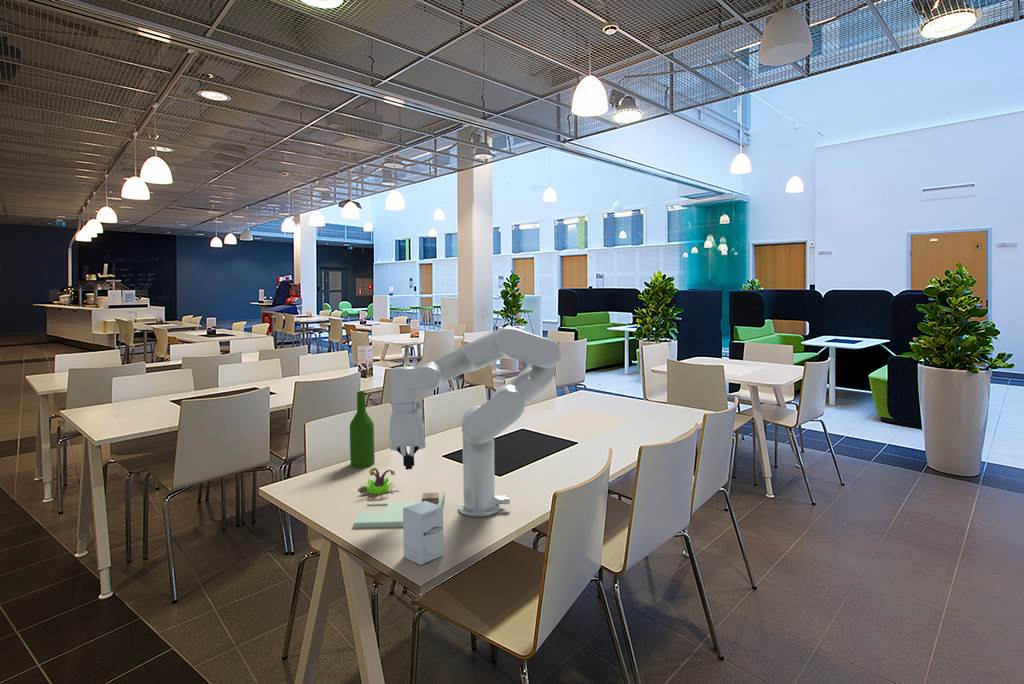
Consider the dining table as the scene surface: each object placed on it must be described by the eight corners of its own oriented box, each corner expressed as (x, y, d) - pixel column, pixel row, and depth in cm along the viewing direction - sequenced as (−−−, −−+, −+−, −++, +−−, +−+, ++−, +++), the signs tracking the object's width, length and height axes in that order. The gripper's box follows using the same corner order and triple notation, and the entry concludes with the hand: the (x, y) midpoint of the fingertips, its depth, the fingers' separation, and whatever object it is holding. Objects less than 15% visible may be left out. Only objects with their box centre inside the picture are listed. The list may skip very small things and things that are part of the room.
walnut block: (438, 502, 165) (438, 492, 165) (438, 507, 160) (438, 497, 160) (422, 502, 165) (422, 493, 165) (421, 508, 160) (421, 498, 160)
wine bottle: (377, 472, 208) (375, 390, 207) (371, 478, 199) (369, 393, 198) (354, 472, 208) (352, 390, 207) (348, 479, 199) (345, 393, 198)
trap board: (444, 509, 166) (444, 492, 166) (439, 529, 150) (439, 510, 150) (367, 511, 165) (367, 493, 165) (354, 531, 149) (353, 512, 149)
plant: (335, 501, 176) (334, 468, 175) (384, 487, 191) (383, 456, 190) (370, 515, 163) (369, 479, 162) (419, 498, 178) (419, 465, 177)
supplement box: (421, 566, 127) (420, 514, 127) (402, 557, 132) (401, 507, 132) (444, 555, 133) (443, 506, 132) (426, 547, 138) (425, 499, 137)
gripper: (432, 404, 162) (435, 463, 163) (383, 407, 162) (387, 466, 163) (428, 408, 155) (432, 470, 155) (377, 411, 154) (381, 473, 155)
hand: (409, 468), depth 159 cm, fingers closed
